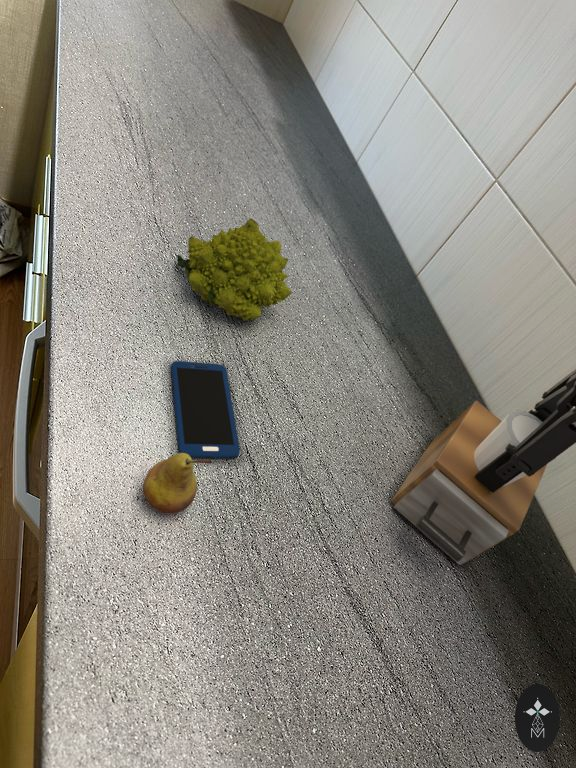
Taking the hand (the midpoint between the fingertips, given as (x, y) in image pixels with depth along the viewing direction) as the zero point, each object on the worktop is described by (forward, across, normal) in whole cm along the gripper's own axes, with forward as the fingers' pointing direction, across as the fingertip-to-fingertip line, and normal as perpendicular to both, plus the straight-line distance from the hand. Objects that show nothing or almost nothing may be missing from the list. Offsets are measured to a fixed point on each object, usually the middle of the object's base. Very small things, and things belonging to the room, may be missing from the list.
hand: (495, 464), depth 69 cm
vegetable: (+11, -3, -42) cm, 44 cm away
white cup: (+1, 0, 0) cm, 1 cm away
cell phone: (+11, +15, -31) cm, 36 cm away
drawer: (+10, +3, 0) cm, 11 cm away
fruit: (+11, +27, -26) cm, 39 cm away
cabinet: (+11, -1, 0) cm, 11 cm away
